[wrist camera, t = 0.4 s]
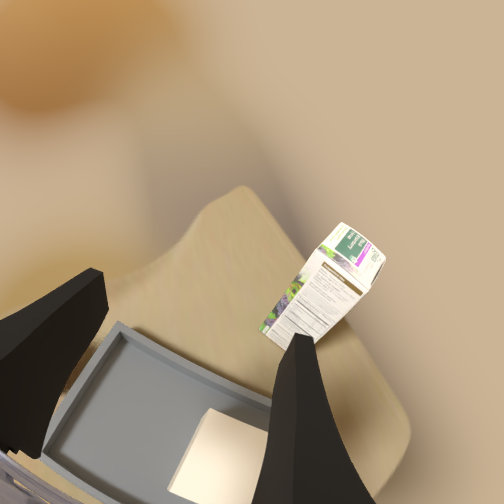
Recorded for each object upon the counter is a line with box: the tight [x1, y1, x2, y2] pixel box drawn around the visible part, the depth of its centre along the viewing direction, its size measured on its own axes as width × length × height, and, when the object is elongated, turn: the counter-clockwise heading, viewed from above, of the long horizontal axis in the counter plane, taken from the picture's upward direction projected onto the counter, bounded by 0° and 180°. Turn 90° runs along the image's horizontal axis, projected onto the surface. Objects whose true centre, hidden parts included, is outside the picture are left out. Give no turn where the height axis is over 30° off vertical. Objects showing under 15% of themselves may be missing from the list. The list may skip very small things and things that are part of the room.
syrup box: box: [259, 222, 386, 351], centre depth 31 cm, size 6×6×14 cm
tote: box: [38, 321, 272, 504], centre depth 23 cm, size 16×21×2 cm
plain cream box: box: [167, 408, 268, 504], centre depth 21 cm, size 8×8×4 cm
